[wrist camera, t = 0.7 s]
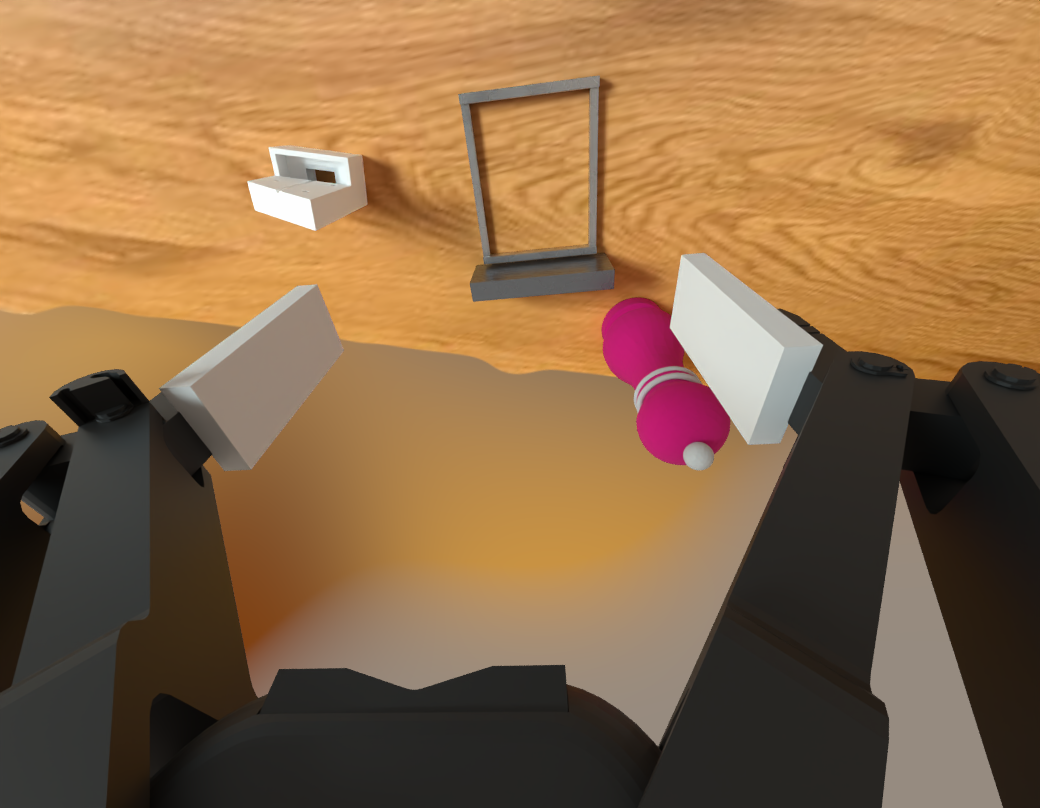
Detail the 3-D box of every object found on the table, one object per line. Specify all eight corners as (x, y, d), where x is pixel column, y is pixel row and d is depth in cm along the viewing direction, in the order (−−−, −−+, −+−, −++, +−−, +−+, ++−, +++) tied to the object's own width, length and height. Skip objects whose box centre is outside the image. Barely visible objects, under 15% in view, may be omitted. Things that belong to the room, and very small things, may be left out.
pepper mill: (612, 283, 37) (677, 408, 21) (681, 302, 38) (794, 434, 22) (586, 348, 41) (624, 493, 25) (648, 363, 42) (724, 512, 26)
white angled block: (411, 216, 31) (315, 230, 25) (329, 193, 35) (227, 201, 29) (408, 165, 29) (303, 165, 23) (321, 146, 33) (210, 142, 27)
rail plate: (448, 96, 29) (435, 92, 25) (610, 75, 28) (623, 67, 24) (479, 282, 37) (473, 301, 33) (604, 270, 36) (613, 288, 32)
